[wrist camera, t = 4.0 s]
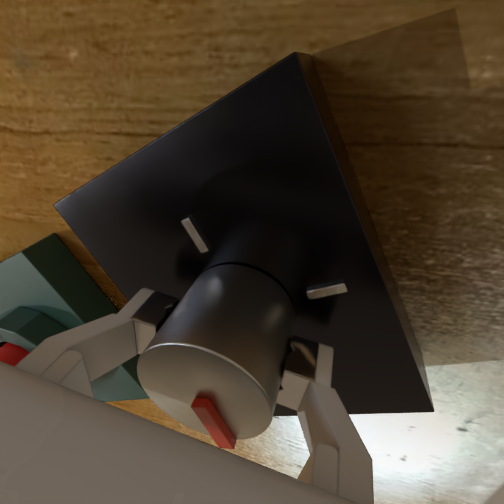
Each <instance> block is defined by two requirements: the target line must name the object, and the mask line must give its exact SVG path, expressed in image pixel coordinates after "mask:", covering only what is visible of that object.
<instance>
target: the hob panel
mask: <svg viewBox="0 0 504 504" xmlns="http://www.w3.org/2000/svg"><path fill="white" fill-rule="evenodd" d="M53 206H54V207H55V208H56V210H57V211H58V212H59V214H60V215H61V216H62V217H63V219H64V220H65V221H66V222H67V224H68V225H69V226H70V228H71V229H72V230H73V231H74V233H75V234H76V235H77V236H78V238H79V239H80V240H81V242H82V243H83V244H84V245H85V247H86V248H87V249H88V250H89V252H90V253H91V254H92V256H93V257H94V258H95V259H96V261H97V262H98V263H99V264H100V266H101V267H102V268H103V270H104V271H105V272H106V273H107V275H108V276H109V277H110V278H111V280H112V281H113V282H114V284H115V285H116V286H117V287H118V289H119V290H120V291H121V292H122V294H123V295H124V296H125V298H126V299H127V300H128V301H130V300H131V299H132V298H133V297H134V296H135V295H136V294H137V293H138V291H139V290H140V289H142V288H144V287H145V288H148V289H151V290H154V291H158V292H160V293H163V294H166V295H169V296H172V297H175V298H178V299H180V300H182V298H183V297H184V296H185V294H186V293H187V292H188V290H189V289H190V288H191V286H192V285H193V284H194V282H195V281H196V279H197V278H198V277H199V276H200V275H201V274H202V273H203V272H205V271H206V270H208V269H210V268H212V267H216V266H219V265H226V264H235V265H242V266H247V267H250V268H253V269H256V270H258V271H260V272H262V273H264V274H266V275H268V276H269V277H271V278H272V279H273V280H275V281H276V282H277V283H278V284H279V285H280V286H281V287H282V288H283V289H284V290H285V292H286V293H287V295H288V296H289V298H290V300H291V302H292V304H293V307H294V310H295V326H294V330H293V334H292V335H295V336H298V337H301V338H304V339H308V340H311V341H314V342H317V343H320V344H323V345H327V346H330V347H333V350H334V352H333V365H332V378H331V388H334V389H335V390H336V392H337V394H338V396H339V398H340V399H341V401H342V403H343V405H344V407H345V409H346V411H347V413H348V414H376V413H415V412H434V407H433V402H432V398H431V393H430V388H429V384H428V379H427V375H426V370H425V366H424V361H423V357H422V353H421V351H420V348H419V345H418V343H417V340H416V337H415V334H414V332H413V329H412V326H411V324H410V321H409V318H408V316H407V313H406V310H405V307H404V305H403V302H402V299H401V297H400V294H399V291H398V289H397V286H396V283H395V280H394V278H393V275H392V272H391V270H390V267H389V264H388V261H387V259H386V256H385V253H384V251H383V248H382V245H381V243H380V240H379V237H378V234H377V232H376V229H375V226H374V224H373V221H372V218H371V215H370V213H369V210H368V207H367V205H366V202H365V199H364V197H363V194H362V191H361V188H360V186H359V183H358V180H357V178H356V175H355V172H354V170H353V167H352V164H351V161H350V159H349V156H348V153H347V151H346V148H345V145H344V142H343V140H342V137H341V134H340V132H339V129H338V126H337V124H336V121H335V118H334V115H333V113H332V110H331V107H330V105H329V102H328V99H327V96H326V94H325V91H324V88H323V86H322V83H321V80H320V78H319V75H318V72H317V69H316V67H315V64H314V61H313V59H312V56H311V55H310V54H305V53H299V52H293V53H292V54H290V55H289V56H287V57H285V58H284V59H282V60H281V61H279V62H278V63H276V64H274V65H273V66H271V67H270V68H268V69H266V70H265V71H263V72H262V73H260V74H259V75H257V76H255V77H254V78H252V79H251V80H249V81H248V82H246V83H244V84H243V85H241V86H240V87H238V88H236V89H235V90H233V91H232V92H230V93H229V94H227V95H225V96H224V97H222V98H221V99H219V100H217V101H216V102H214V103H213V104H211V105H210V106H208V107H206V108H205V109H203V110H202V111H200V112H198V113H197V114H195V115H194V116H192V117H191V118H189V119H187V120H186V121H184V122H183V123H181V124H179V125H178V126H176V127H175V128H173V129H172V130H170V131H168V132H167V133H165V134H164V135H162V136H161V137H159V138H157V139H156V140H154V141H153V142H151V143H149V144H148V145H146V146H145V147H143V148H142V149H140V150H138V151H137V152H135V153H134V154H132V155H130V156H129V157H127V158H126V159H124V160H123V161H121V162H119V163H118V164H116V165H115V166H113V167H111V168H110V169H108V170H107V171H105V172H104V173H102V174H100V175H99V176H97V177H96V178H94V179H93V180H91V181H89V182H88V183H86V184H85V185H83V186H81V187H80V188H78V189H77V190H75V191H74V192H72V193H70V194H69V195H67V196H66V197H64V198H62V199H61V200H59V201H58V202H56V203H55V204H53ZM273 416H298V415H297V411H296V410H293V409H291V408H288V407H285V406H283V405H280V404H278V403H276V405H275V410H274V414H273Z"/></svg>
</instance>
